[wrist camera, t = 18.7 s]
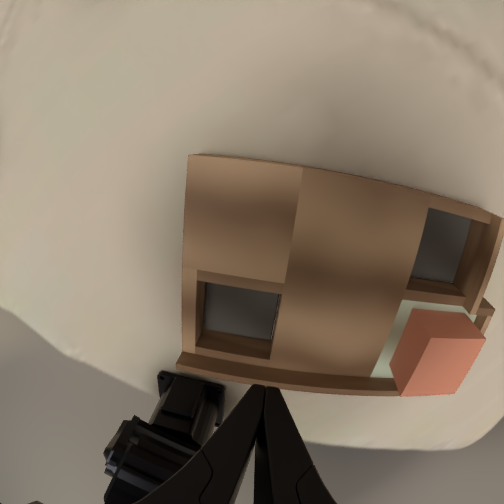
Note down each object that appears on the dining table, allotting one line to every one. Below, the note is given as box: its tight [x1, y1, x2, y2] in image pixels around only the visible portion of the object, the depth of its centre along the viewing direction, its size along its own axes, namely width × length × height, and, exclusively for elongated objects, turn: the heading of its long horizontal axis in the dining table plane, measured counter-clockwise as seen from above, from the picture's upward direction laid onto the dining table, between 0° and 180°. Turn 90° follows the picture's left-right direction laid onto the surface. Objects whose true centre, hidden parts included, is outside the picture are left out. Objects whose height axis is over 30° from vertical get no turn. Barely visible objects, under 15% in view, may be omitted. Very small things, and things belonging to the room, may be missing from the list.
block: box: [389, 308, 486, 397], centre depth 17 cm, size 5×5×4 cm
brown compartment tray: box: [176, 154, 504, 396], centre depth 18 cm, size 15×23×4 cm, turn 84°
